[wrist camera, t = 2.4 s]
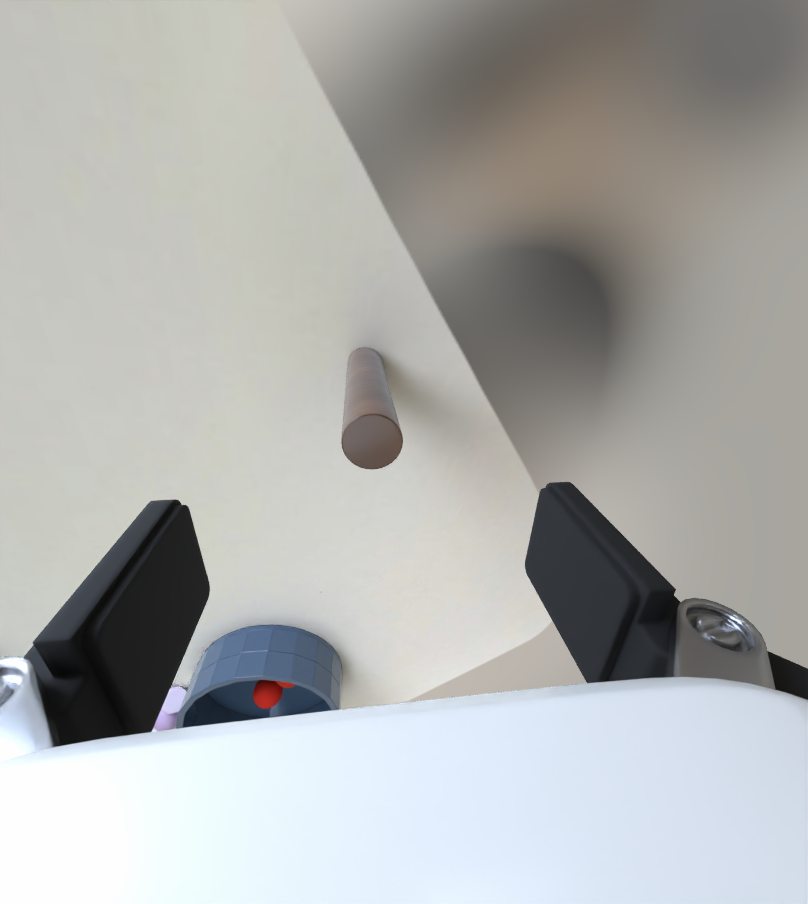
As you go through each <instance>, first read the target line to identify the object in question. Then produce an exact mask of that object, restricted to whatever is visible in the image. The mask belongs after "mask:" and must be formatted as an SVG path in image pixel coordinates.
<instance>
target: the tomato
mask: <svg viewBox="0 0 808 904" xmlns="http://www.w3.org/2000/svg"><path fill="white" fill-rule="evenodd" d="M282 694H283V687H281V686H280V685H278V684H277V682H276V681H270V680H259V681H258V682H257V684H256V685H255V687H254V690H253V699H254V702H255V704H256V705H257V706H258V707H260V708H263V709H268V708H271V707H273V706H275V705H276V704H277V703H278V702H279V700H280V699H281V697H282Z"/></svg>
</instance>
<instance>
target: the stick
mask: <svg viewBox="0 0 808 904" xmlns="http://www.w3.org/2000/svg"><path fill="white" fill-rule="evenodd" d="M402 444H403V437H402V433H401V429H400V425H399V422H398V418H397V414H396V410H395V407H394V403H393V399H392V396H391V392H390V388H389V384H388V381H387V377H386V373H385V370H384V366H383V362H382V359H381V357H380V355H379V354H378V353H377V352H376V351H375V350H373V349H371V348H359V349H357V350H355V351H354V352H353V353H352V354H351V355H350V357H349V359H348V366H347V378H346V391H345V403H344V416H343V428H342V449H343V451H344V454H345V455H346V457H347V458H348V459H349V460H350V461H351V462H352V463H353V464H355V465H357V466H359V467H361V468H365V469H379V468H382V467H385V466H387V465H389V464H390V463H392V462H393V461H394V460H395V459H396V458H397V456H398V455H399V453H400V451H401V449H402Z"/></svg>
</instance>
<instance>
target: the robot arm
mask: <svg viewBox="0 0 808 904" xmlns="http://www.w3.org/2000/svg"><path fill="white" fill-rule="evenodd" d="M525 569H526V573H527V575H528V577H529V579H530V581H531V583H532V584H533V586H534V588H535V590H536V592H537V593H538V595H539V597H540V599H541V601H542V602H543V604H544V606H545V608H546V610H547V611H548V613H549V615H550V617H551V619H552V621H553V622H554V624H555V626H556V628H557V630H558V631H559V633H560V635H561V637H562V639H563V640H564V642H565V644H566V646H567V647H568V649H569V651H570V653H571V655H572V657H573V658H574V660H575V662H576V663H577V666H578V667H579V669H580V671H581V673H582V675H583V676H584V678H585V680H586V682H587V683H585V684H575V685H565V686H556V687H546V688H538V689H537V688H536V689H527V690H517V691H507V692H498V693H488V694H479V695H469V696H460V697H451V698H442V699H432V700H423V701H414V702H405V703H396V704H387V705H378V706H369V707H360V708H351V709H341V710H332V711H323V712H315V713H306V714H297V715H289V716H280V717H272V718H263V719H254V720H246V721H237V722H228V723H220V724H211V725H202V726H194V727H186V728H179V729H171V730H163V731H156V732H152V730H153V728H154V725H155V723H156V720H157V718H158V716H159V713H160V711H161V709H162V706H163V704H164V702H165V699H166V697H167V694H168V692H169V690H170V687H171V685H172V683H173V680H174V678H175V676H176V673H177V671H178V668H179V666H180V664H181V661H182V659H183V657H184V654H185V652H186V650H187V647H188V645H189V643H190V640H191V638H192V635H193V633H194V631H195V628H196V626H197V624H198V621H199V619H200V617H201V614H202V612H203V609H204V607H205V605H206V602H207V600H208V597H209V591H210V586H209V581H208V577H207V574H206V570H205V566H204V563H203V559H202V555H201V551H200V548H199V544H198V540H197V537H196V533H195V529H194V526H193V522H192V518H191V515H190V511H189V508H188V507H187V506H186V505H181V503H180V502H179V501H178V500H158V501H151V502H150V503H148V505H147V506H146V507H145V508H144V509H143V511H142V512H141V513H140V514H139V515H138V517H137V518H136V519H135V520H134V521H133V523H132V524H131V525H130V526H129V527H128V529H127V530H126V531H125V532H124V533H123V535H122V536H121V537H120V538H119V539H118V541H117V542H116V543H115V544H114V545H113V547H112V548H111V549H110V550H109V551H108V553H107V554H106V555H105V556H104V557H103V559H102V560H101V561H100V562H99V563H98V565H97V566H96V567H95V568H94V569H93V571H92V572H91V573H90V574H89V575H88V577H87V578H86V579H85V580H84V581H83V583H82V584H81V585H80V586H79V587H78V589H77V590H76V591H75V592H74V593H73V595H72V596H71V597H70V598H69V599H68V601H67V602H66V603H65V604H64V605H63V607H62V608H61V609H60V610H59V612H58V613H57V614H56V615H55V616H54V618H53V619H52V620H51V621H50V622H49V624H48V625H47V626H46V627H45V628H44V630H43V631H42V632H41V633H40V634H39V636H38V637H37V638H36V639H35V640H34V642H33V644H34V645H33V647H32V648H31V649H30V650H29V651H28V653H27V654H26V655H25V656H24V658H21V657H4V658H0V904H808V669H807V668H805V667H802V666H800V665H798V664H796V663H793V662H791V661H789V660H786V659H784V658H782V657H780V656H777V655H775V654H773V653H771V652H768V651H767V647H766V643H765V641H764V639H763V637H762V635H761V633H760V632H759V631H758V630H757V629H756V627H755V626H754V625H753V624H752V623H750V622H749V621H748V620H747V619H746V618H744V617H743V616H742V615H740V614H738V613H737V612H735V611H734V610H732V609H730V608H728V607H725V606H724V605H721V604H719V603H716V602H713V601H710V600H706V599H698V598H691V599H686V600H684V601H682V602H680V601H679V600H678V599H677V598H676V597H675V596H674V593H675V590H676V589H675V588H674V587H673V586H672V585H671V584H670V583H669V582H668V581H667V580H666V579H665V578H664V577H663V576H662V575H661V574H660V573H659V572H658V571H657V570H656V569H655V568H654V567H653V566H652V565H651V564H650V563H649V562H648V561H647V560H646V559H645V558H644V556H643V555H642V554H640V552H638V551H637V549H636V548H635V547H634V546H633V545H632V544H631V543H630V542H629V541H628V540H627V539H626V538H625V537H624V536H623V535H622V534H621V533H620V532H619V531H618V530H617V529H616V528H615V527H614V526H613V525H612V524H611V523H610V522H609V521H608V520H607V519H606V518H605V517H604V516H603V515H602V514H601V513H600V512H599V511H598V509H597V508H596V507H594V505H593V504H592V503H591V502H590V501H589V500H588V499H587V498H586V497H585V496H584V495H583V494H582V493H581V492H580V491H579V490H578V489H577V488H576V487H575V486H574V485H573V484H571V483H570V482H558V483H549V484H547V486H546V488H543V489H541V491H540V494H539V499H538V503H537V508H536V513H535V518H534V522H533V527H532V532H531V537H530V541H529V546H528V551H527V556H526V560H525Z"/></svg>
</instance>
